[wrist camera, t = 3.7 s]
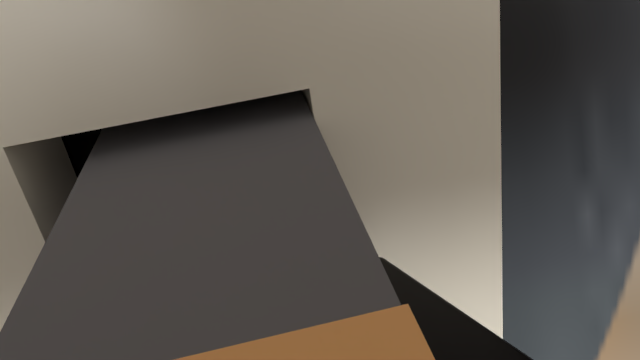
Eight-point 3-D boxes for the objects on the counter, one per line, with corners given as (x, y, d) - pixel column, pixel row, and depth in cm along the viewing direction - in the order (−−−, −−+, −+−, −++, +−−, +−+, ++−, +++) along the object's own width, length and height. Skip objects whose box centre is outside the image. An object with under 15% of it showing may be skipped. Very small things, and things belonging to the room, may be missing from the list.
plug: (158, 288, 13) (92, 739, 6) (100, 125, 11) (-96, 500, 4) (330, 249, 13) (460, 632, 6) (301, 84, 12) (438, 367, 4)
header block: (24, 397, 15) (-28, 519, 12) (-189, 12, 10) (-356, 55, 7) (464, 301, 16) (518, 395, 13) (445, -99, 11) (522, -101, 8)
